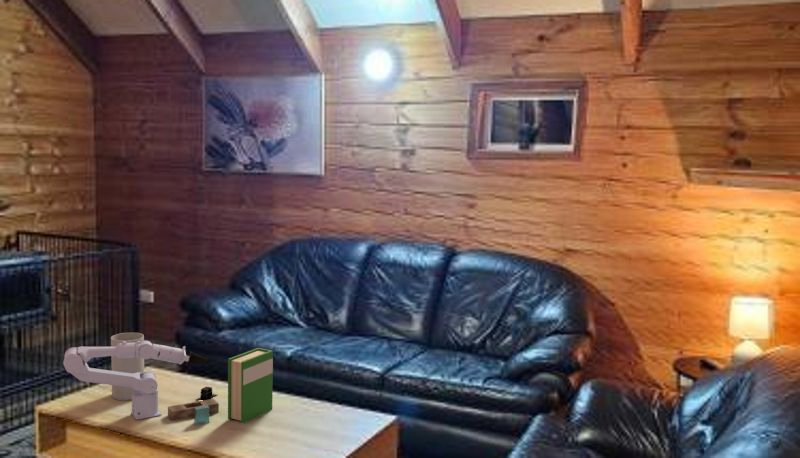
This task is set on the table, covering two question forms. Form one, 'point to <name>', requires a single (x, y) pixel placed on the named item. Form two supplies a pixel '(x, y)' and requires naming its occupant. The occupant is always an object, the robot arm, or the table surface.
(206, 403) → the slotted beam
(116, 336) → the cylinder vase
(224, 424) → the table surface
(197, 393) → the table surface
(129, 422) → the table surface
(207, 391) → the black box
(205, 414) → the teal rectangular block
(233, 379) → the hardback book
